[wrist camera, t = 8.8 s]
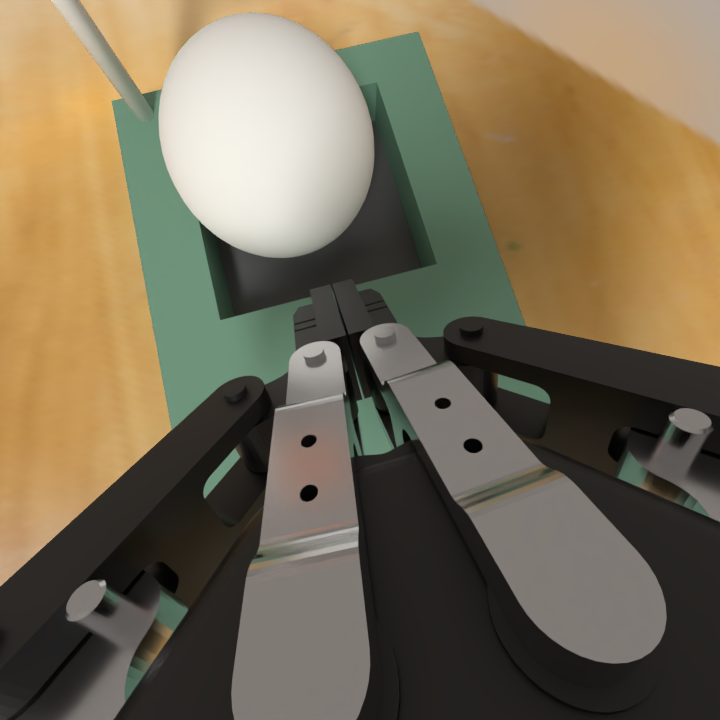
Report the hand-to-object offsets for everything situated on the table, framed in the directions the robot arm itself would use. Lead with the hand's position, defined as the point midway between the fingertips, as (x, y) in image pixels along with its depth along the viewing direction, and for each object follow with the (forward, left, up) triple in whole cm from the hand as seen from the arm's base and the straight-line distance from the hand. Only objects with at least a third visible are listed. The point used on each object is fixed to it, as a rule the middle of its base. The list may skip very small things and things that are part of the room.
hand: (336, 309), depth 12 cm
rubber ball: (+1, -7, -1) cm, 7 cm away
